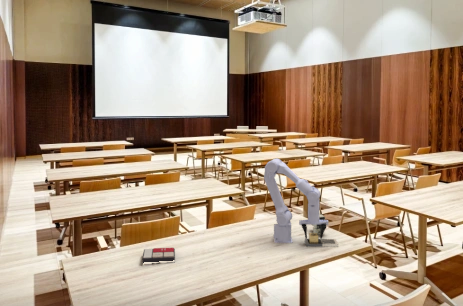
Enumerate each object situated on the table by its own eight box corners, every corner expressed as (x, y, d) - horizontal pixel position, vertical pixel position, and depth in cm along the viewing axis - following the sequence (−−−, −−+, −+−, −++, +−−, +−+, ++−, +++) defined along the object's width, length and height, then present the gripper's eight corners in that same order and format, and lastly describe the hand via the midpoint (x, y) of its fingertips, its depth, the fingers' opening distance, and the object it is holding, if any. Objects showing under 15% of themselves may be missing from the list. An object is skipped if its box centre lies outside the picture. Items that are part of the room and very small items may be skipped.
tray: (306, 247, 189) (306, 244, 189) (304, 241, 196) (304, 238, 195) (338, 247, 188) (338, 244, 187) (335, 241, 194) (335, 238, 194)
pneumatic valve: (318, 238, 200) (318, 216, 198) (308, 230, 211) (308, 210, 209) (327, 236, 201) (327, 215, 200) (317, 229, 213) (317, 209, 211)
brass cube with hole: (309, 245, 190) (309, 235, 189) (308, 242, 194) (308, 232, 193) (318, 245, 190) (318, 235, 189) (316, 242, 194) (316, 232, 193)
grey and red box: (174, 255, 174) (142, 257, 172) (174, 264, 175) (142, 265, 173) (174, 246, 185) (143, 247, 183) (174, 254, 186) (144, 256, 183)
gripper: (300, 215, 186) (300, 240, 188) (329, 215, 185) (329, 240, 187) (298, 210, 193) (298, 235, 195) (327, 210, 192) (326, 235, 194)
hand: (313, 237), depth 191 cm, fingers open, 7 cm apart
